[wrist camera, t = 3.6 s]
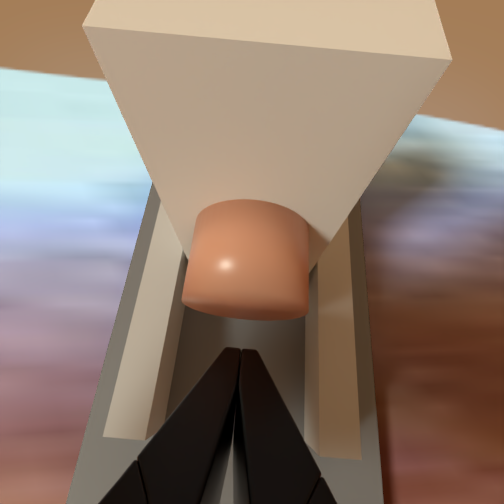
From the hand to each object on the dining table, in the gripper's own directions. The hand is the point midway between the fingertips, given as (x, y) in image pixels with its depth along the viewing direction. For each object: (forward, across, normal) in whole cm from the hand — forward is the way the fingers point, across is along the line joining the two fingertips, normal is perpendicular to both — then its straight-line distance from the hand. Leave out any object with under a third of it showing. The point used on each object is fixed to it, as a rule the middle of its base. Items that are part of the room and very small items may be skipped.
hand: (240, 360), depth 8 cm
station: (+8, 0, +2) cm, 8 cm away
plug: (+7, 0, +1) cm, 7 cm away
